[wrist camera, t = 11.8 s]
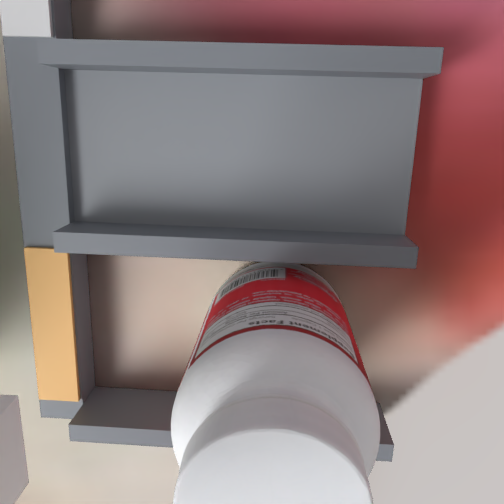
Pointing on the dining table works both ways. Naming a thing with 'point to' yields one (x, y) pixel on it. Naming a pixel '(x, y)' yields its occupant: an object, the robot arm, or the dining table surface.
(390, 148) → the panel
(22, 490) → the robot arm
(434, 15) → the dining table surface
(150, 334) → the dining table surface
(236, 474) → the pill bottle
